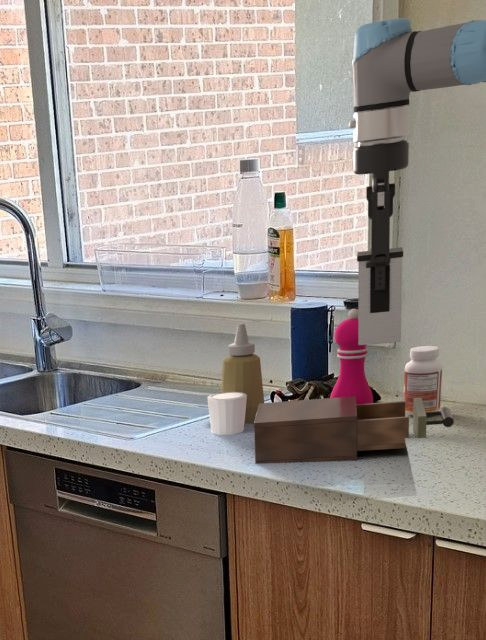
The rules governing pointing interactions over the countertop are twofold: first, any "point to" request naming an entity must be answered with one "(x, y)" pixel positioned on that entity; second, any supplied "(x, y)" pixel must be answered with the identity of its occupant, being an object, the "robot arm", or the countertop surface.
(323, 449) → the cabinet
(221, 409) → the white tapered cup
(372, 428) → the drawer
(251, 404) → the squeeze bottle
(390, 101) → the robot arm
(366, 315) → the white rectangular block
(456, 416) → the countertop surface
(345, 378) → the pepper mill
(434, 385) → the pill bottle
